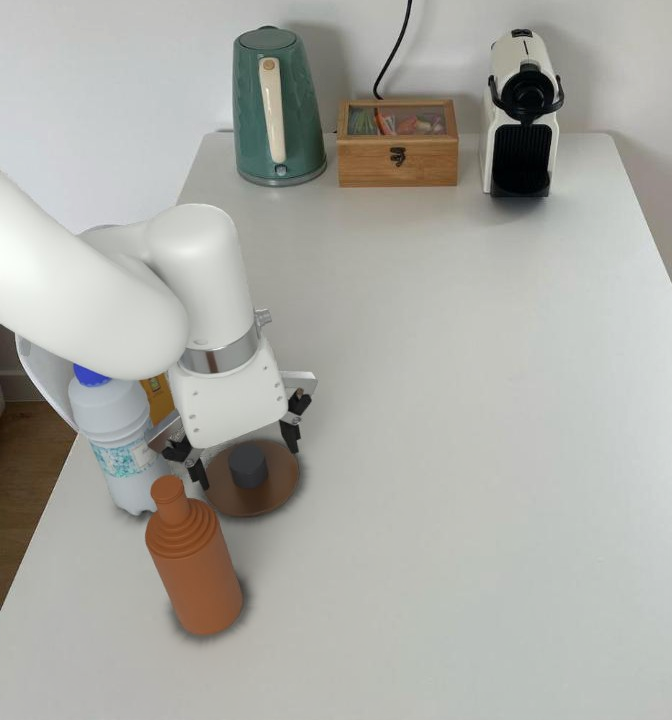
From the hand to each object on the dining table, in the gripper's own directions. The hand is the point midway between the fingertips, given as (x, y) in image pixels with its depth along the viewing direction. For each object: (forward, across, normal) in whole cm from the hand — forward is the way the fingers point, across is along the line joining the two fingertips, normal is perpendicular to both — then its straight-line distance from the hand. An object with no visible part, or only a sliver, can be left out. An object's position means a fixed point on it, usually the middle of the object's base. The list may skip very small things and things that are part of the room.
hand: (247, 462), depth 84 cm
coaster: (+3, 0, 0) cm, 3 cm away
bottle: (+3, +10, -3) cm, 11 cm away
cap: (+2, 0, 0) cm, 2 cm away
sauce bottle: (+3, +8, +12) cm, 15 cm away
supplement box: (+3, +6, -14) cm, 16 cm away
